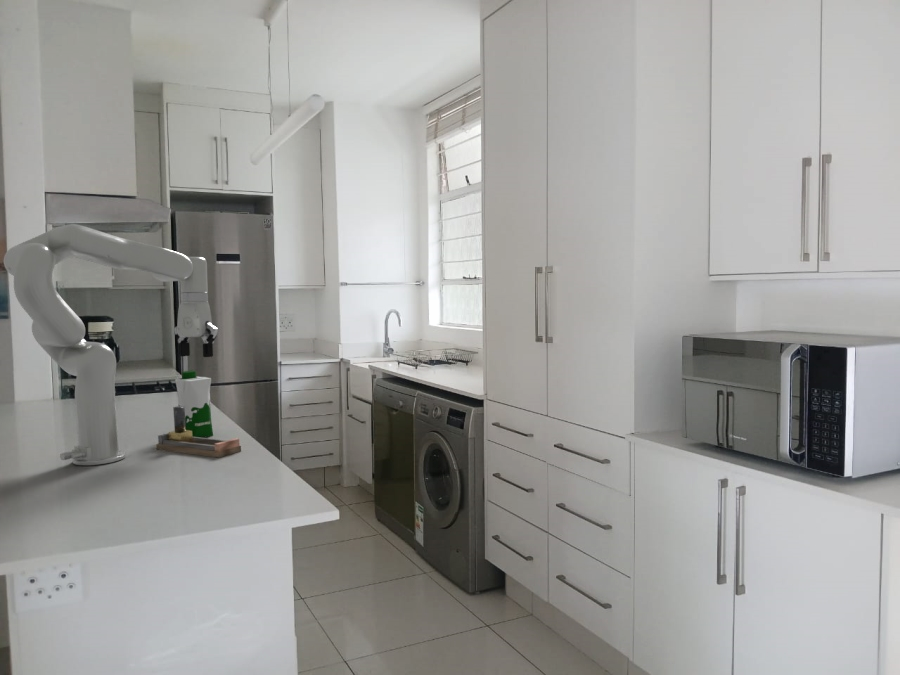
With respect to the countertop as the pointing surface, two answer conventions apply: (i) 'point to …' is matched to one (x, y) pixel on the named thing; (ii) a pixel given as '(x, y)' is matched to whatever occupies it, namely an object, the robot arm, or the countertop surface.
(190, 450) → the rail base
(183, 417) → the slider
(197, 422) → the milk carton
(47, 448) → the countertop surface
